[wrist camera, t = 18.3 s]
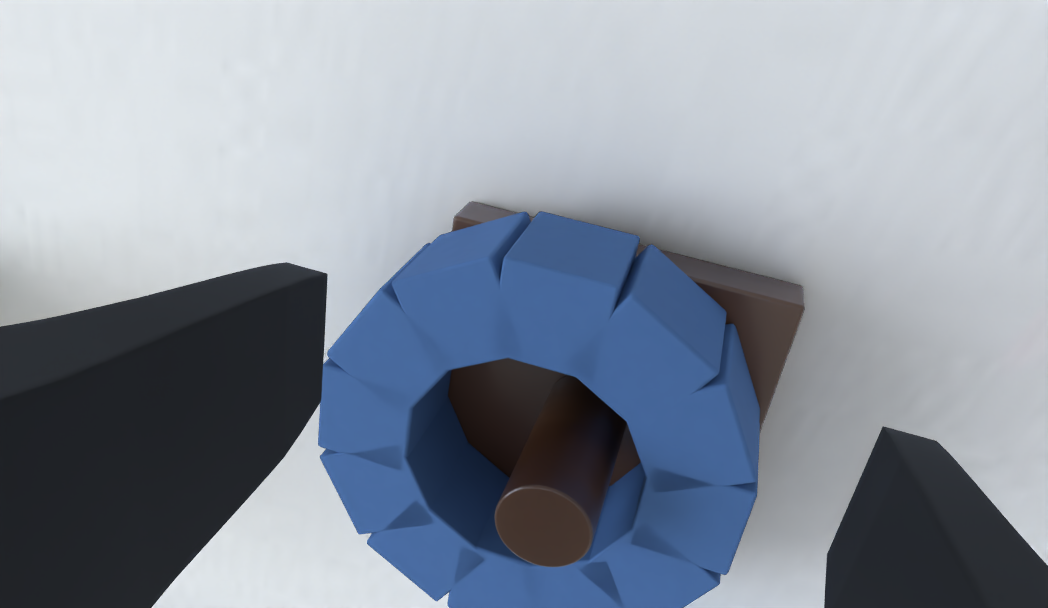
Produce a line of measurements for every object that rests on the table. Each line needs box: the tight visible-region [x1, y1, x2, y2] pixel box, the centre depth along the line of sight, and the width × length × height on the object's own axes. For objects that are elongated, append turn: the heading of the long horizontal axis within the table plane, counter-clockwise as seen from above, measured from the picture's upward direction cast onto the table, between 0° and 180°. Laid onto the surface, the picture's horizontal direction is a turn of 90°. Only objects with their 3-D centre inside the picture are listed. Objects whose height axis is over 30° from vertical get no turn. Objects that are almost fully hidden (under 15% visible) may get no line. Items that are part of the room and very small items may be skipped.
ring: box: [318, 211, 760, 608], centre depth 19 cm, size 10×10×3 cm
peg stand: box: [448, 202, 805, 567], centre depth 19 cm, size 8×8×6 cm
